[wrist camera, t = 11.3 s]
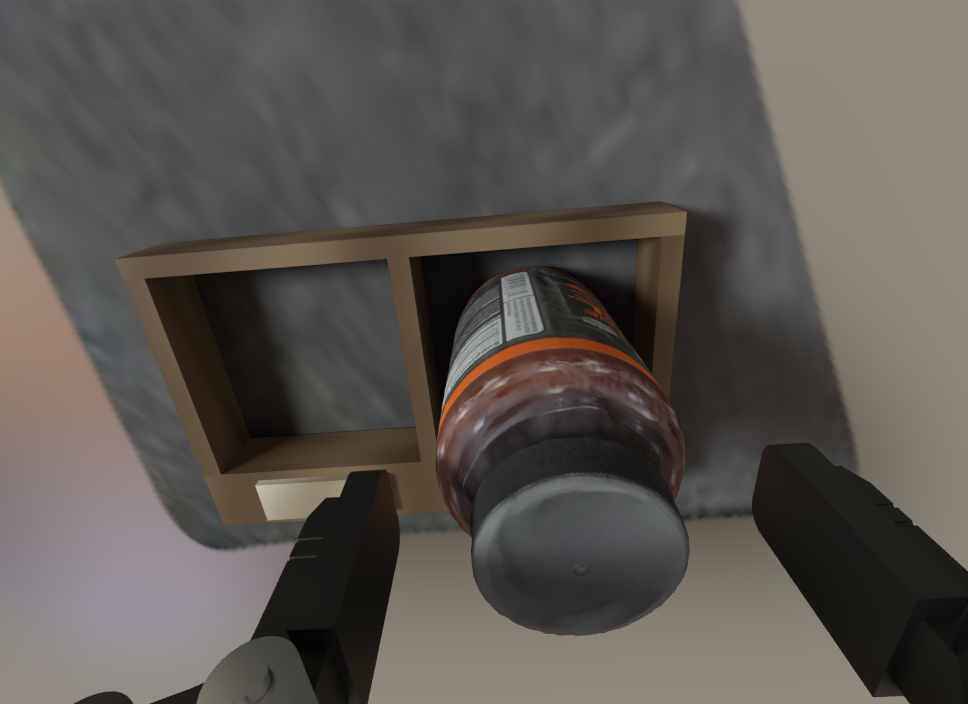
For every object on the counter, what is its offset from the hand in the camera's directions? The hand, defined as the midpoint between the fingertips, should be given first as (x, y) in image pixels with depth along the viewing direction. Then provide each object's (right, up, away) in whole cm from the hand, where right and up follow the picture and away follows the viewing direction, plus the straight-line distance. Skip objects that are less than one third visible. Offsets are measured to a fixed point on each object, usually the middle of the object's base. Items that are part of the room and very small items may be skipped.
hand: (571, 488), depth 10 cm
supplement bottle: (0, +4, +9) cm, 10 cm away
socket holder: (-4, +2, +9) cm, 10 cm away
